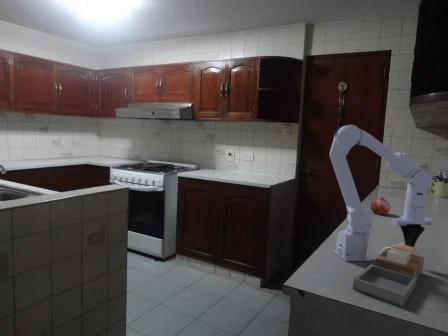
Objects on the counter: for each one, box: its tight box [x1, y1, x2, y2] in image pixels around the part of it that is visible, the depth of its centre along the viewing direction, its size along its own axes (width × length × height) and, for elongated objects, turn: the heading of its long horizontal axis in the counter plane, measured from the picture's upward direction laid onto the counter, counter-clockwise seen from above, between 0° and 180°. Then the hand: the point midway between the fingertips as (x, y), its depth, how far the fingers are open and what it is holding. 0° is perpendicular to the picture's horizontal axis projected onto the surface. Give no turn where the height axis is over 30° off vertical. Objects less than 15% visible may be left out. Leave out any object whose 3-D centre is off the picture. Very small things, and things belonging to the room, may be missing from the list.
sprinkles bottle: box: [379, 241, 405, 255], centre depth 112 cm, size 5×5×13 cm
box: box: [352, 264, 418, 308], centre depth 88 cm, size 14×12×3 cm
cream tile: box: [387, 248, 411, 265], centre depth 97 cm, size 5×5×2 cm
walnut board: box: [374, 248, 425, 280], centre depth 99 cm, size 14×10×5 cm
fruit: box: [370, 195, 391, 216], centre depth 177 cm, size 9×10×10 cm
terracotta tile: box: [392, 242, 416, 260], centre depth 101 cm, size 5×5×2 cm
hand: (409, 246), depth 107 cm, fingers closed
